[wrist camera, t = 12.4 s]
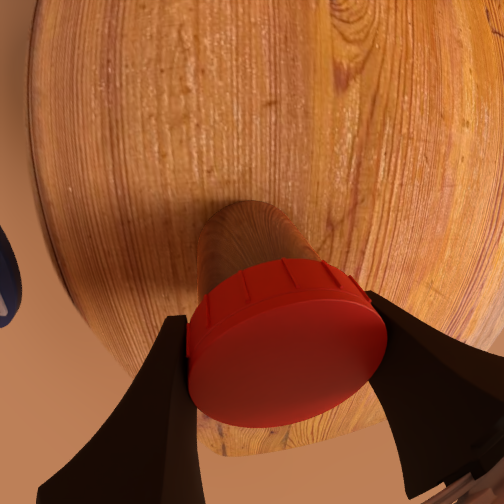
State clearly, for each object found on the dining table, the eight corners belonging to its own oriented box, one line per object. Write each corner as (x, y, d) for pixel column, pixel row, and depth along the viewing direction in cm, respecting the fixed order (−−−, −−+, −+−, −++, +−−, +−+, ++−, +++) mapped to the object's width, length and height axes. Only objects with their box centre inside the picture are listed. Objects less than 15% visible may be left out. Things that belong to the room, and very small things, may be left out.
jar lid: (379, 330, 10) (403, 364, 8) (256, 404, 11) (265, 440, 9) (314, 213, 7) (347, 246, 5) (146, 332, 8) (139, 381, 6)
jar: (203, 295, 15) (212, 416, 9) (192, 205, 13) (185, 309, 6) (294, 284, 16) (347, 391, 9) (298, 197, 13) (385, 281, 7)
